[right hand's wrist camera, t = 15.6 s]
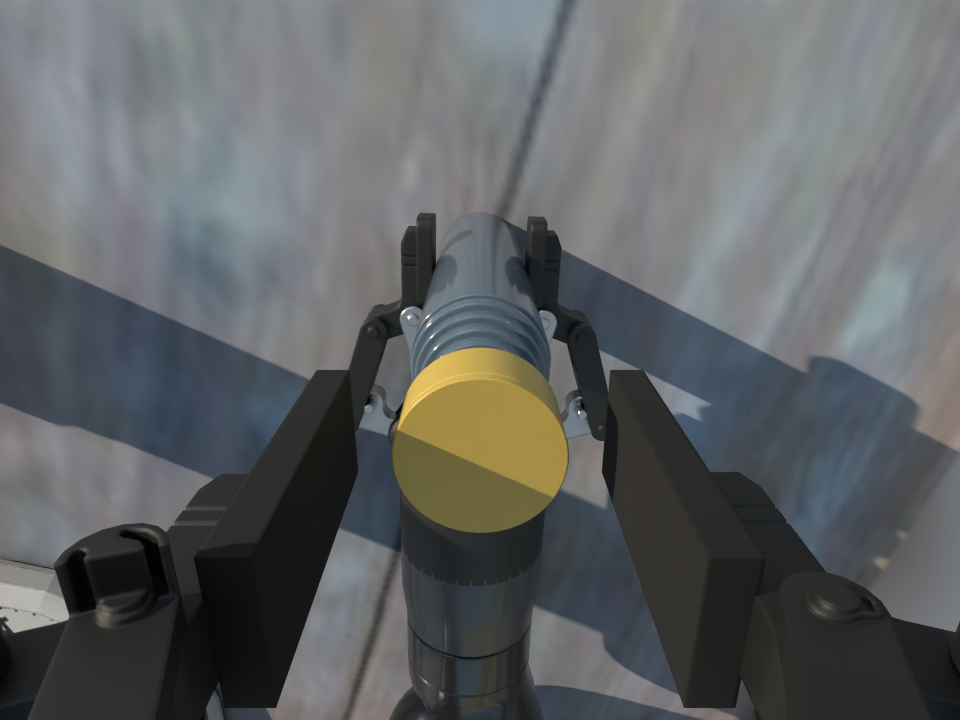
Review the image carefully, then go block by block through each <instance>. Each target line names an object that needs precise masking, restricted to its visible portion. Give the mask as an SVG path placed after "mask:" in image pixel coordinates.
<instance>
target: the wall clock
mask: <svg viewBox="0 0 960 720" xmlns="http://www.w3.org/2000/svg"><path fill="white" fill-rule="evenodd" d="M68 618H69V613H68V610H67V607H66V604H65V601H64V597H63V594H62V591H61V588H60V585H59V581H58V578H57V575H56V572H55V570H52V569H48V568H43V567H38V566H33V565H28V564H23V563H18V562H13V561H8V560H3V559H0V622H1V625H2V627H3V630H4V633H5V635H7V634H11V633H16V632H20V631H24V630H29V629H33V628H38V627H42V626H47V625H51V624H56V623H59V622H62V621H66V620H68ZM206 710H207V714H208V719H209V720H224V717H223V712H222V707H221V703H220V699H219V697H218V695H217V693H216V692H215V690H214V692H213V694H212V696H211V699H210V701H209V703H208V705H207V707H206Z"/></svg>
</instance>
